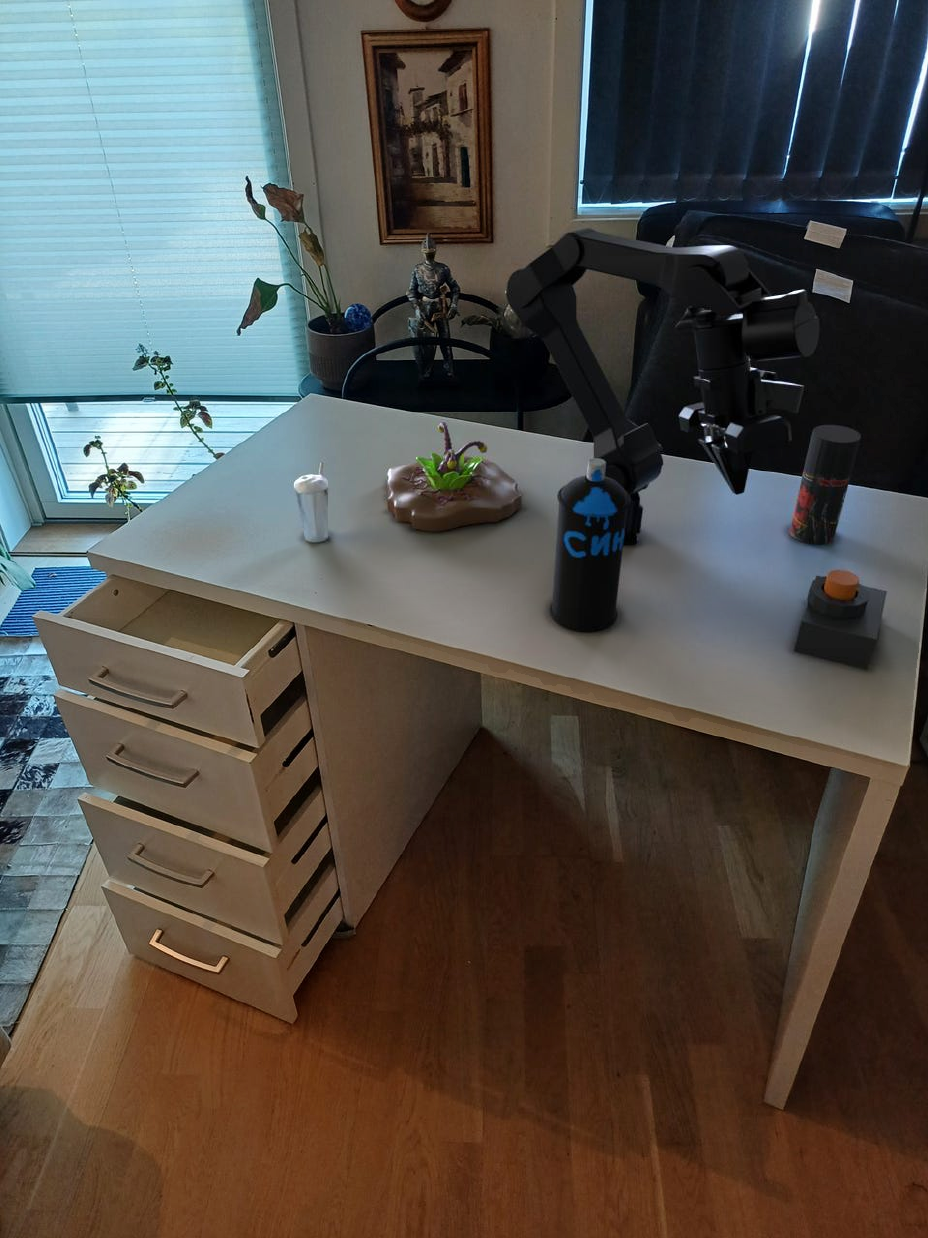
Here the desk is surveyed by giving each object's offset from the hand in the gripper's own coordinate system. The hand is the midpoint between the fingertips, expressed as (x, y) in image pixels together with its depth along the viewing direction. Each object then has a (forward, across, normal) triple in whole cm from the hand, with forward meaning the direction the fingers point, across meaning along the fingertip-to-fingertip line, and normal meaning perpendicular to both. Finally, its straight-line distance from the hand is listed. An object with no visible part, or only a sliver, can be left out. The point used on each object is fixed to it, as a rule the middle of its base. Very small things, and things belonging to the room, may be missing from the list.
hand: (738, 493), depth 110 cm
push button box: (+16, -11, -5) cm, 20 cm away
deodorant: (+13, +12, -14) cm, 23 cm away
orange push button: (+11, -12, -6) cm, 17 cm away
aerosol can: (+9, -2, +22) cm, 24 cm away
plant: (-1, +30, +32) cm, 44 cm away
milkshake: (-2, +21, +52) cm, 56 cm away
